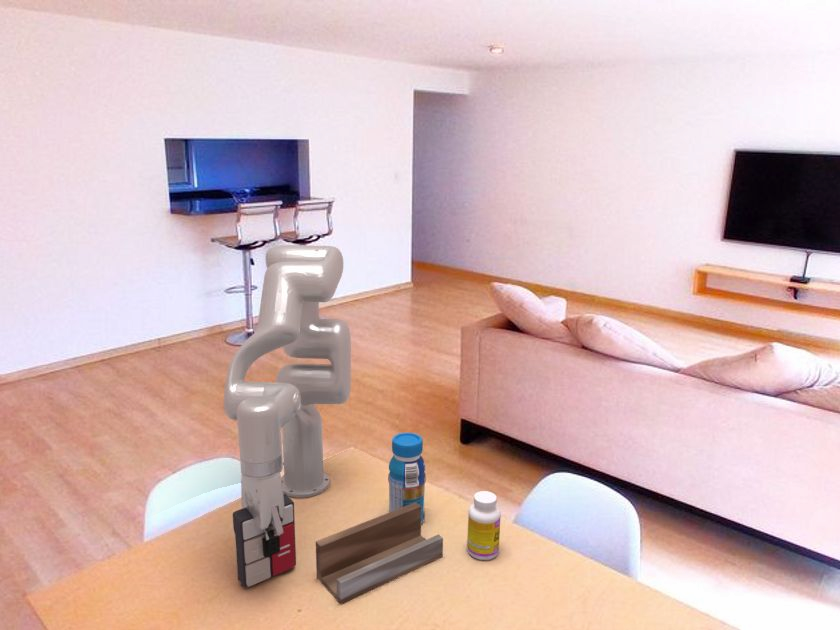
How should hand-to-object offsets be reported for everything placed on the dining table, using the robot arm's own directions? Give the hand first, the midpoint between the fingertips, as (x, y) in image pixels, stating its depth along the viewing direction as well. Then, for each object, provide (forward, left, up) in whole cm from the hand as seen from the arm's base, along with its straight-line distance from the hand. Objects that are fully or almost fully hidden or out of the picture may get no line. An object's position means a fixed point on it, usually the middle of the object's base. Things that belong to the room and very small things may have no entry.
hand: (266, 547), depth 122 cm
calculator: (-1, 0, -7) cm, 7 cm away
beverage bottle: (-1, +34, -7) cm, 34 cm away
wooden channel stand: (+10, +20, -7) cm, 23 cm away
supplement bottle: (+18, +40, -7) cm, 44 cm away
